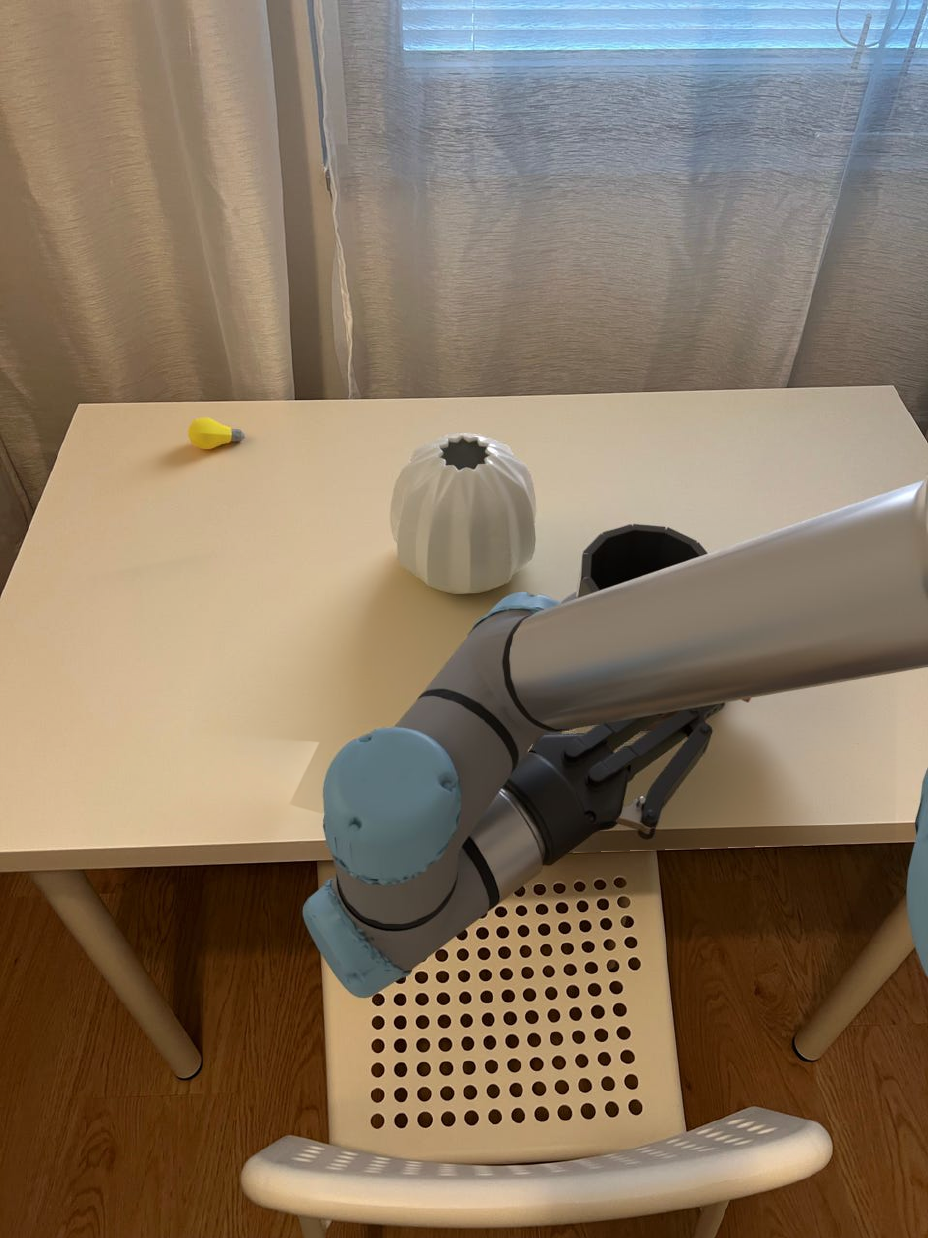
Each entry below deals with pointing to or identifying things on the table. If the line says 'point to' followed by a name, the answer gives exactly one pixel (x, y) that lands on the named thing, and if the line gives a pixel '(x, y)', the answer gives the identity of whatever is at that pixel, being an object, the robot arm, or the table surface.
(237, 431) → the light bulb
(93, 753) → the table surface
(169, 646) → the table surface
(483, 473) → the vase
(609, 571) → the mug
